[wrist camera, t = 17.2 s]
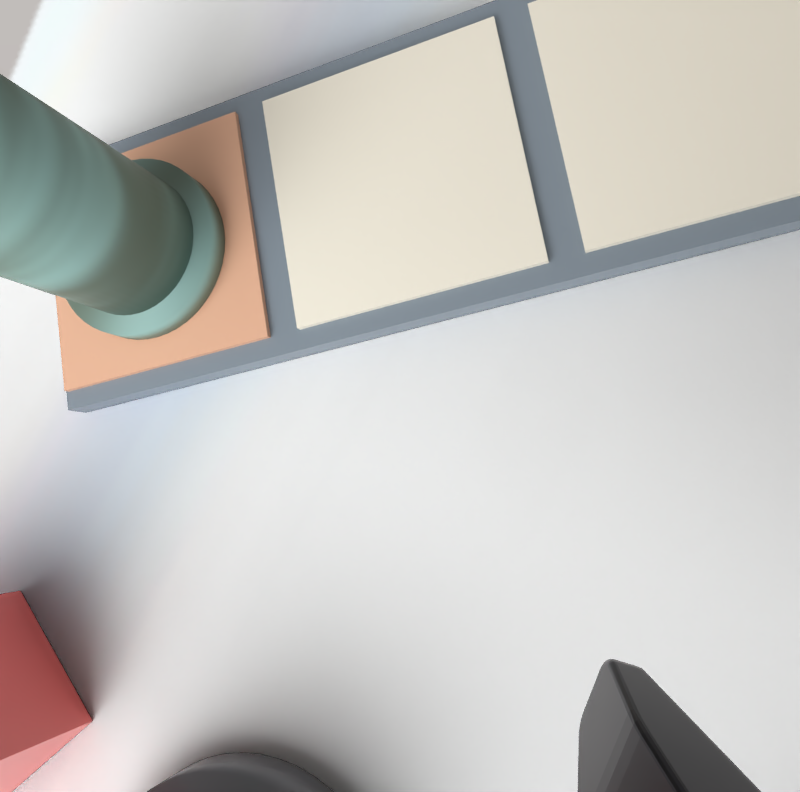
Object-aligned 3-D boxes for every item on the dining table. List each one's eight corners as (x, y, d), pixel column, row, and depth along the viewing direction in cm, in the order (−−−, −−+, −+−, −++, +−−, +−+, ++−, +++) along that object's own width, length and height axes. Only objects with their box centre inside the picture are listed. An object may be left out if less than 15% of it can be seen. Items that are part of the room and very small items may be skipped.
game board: (805, -95, 19) (814, -125, 18) (901, 203, 18) (916, 187, 17) (62, 177, 26) (41, 166, 25) (85, 412, 25) (63, 409, 24)
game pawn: (254, 202, 22) (-55, -31, 12) (176, 368, 22) (-193, 269, 12) (121, 147, 24) (-242, -97, 14) (49, 300, 24) (-361, 166, 14)
